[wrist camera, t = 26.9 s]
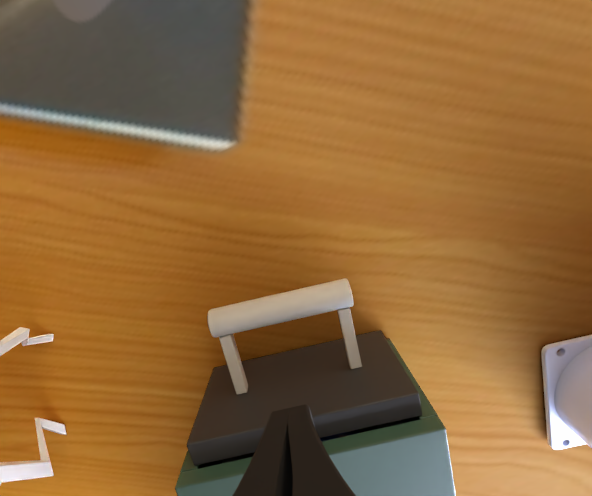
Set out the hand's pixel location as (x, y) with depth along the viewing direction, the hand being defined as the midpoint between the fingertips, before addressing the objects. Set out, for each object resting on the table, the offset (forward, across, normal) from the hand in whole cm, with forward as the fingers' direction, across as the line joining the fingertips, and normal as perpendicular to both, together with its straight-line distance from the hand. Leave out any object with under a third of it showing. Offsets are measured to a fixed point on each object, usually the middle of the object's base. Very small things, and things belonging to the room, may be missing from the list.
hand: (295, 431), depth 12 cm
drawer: (+8, 0, +5) cm, 10 cm away
